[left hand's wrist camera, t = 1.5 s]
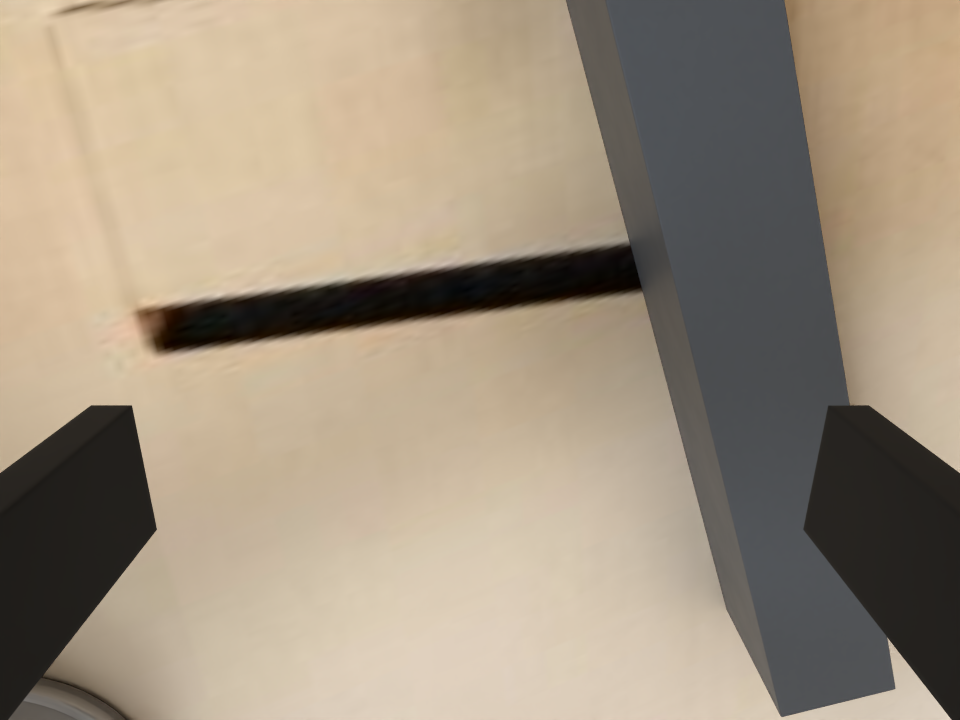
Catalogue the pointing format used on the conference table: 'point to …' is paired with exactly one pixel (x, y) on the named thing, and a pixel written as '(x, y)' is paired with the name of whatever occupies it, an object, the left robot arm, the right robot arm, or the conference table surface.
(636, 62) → the beam
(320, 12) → the conference table surface
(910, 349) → the conference table surface
